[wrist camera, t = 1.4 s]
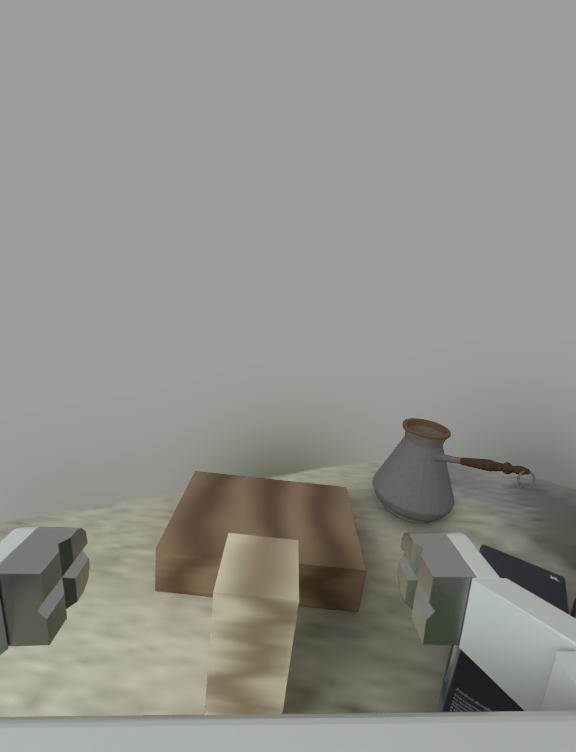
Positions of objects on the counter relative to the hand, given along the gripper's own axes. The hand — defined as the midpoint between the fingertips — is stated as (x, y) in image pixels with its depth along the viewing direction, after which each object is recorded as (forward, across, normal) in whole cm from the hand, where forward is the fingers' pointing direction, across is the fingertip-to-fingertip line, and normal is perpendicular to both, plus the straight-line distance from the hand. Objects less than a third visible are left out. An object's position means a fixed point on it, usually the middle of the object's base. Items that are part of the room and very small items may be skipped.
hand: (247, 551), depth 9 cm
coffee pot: (+34, -23, +24) cm, 48 cm away
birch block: (+12, +1, +24) cm, 27 cm away
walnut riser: (+28, 0, +23) cm, 36 cm away
